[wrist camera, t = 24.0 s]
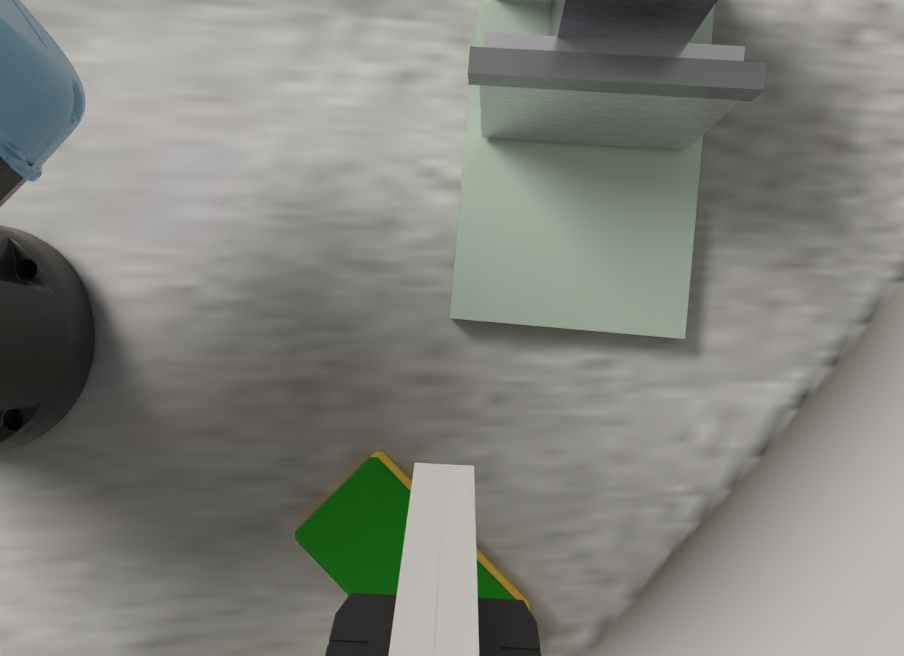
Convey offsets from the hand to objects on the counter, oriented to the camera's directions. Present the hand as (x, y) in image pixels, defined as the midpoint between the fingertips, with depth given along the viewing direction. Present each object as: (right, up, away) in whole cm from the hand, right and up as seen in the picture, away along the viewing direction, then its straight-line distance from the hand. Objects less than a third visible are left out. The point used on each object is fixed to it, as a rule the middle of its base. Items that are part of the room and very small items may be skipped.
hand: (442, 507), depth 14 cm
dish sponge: (-2, -10, +21) cm, 24 cm away
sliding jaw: (+8, +17, +18) cm, 26 cm away
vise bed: (+8, +16, +20) cm, 27 cm away
